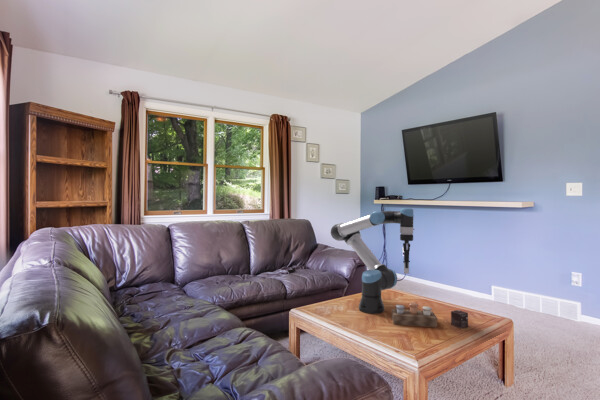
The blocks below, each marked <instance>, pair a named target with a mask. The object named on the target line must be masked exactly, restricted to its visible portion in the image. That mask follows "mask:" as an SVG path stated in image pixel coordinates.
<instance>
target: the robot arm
mask: <svg viewBox="0 0 600 400" xmlns="http://www.w3.org/2000/svg"><path fill="white" fill-rule="evenodd" d="M414 217H415V216H414V209H413V208H410V207H409V208H405V207H404V208H403V207H402V208H400V210H399V211H397V210H396V211H395V210H381V211H379V210H375V211H372V213H370V214H368V215H365V216H362V217H359V218H357V219H354V220H350V221H348V222H345V223H344V222H340V223H337V224H334V225H333V226H332V227H331V228H330V236H331V238H332V239H333V240H335V241H340V242H342V241H344V242H345V244H347V246H351V247H352V250H354V252H355V253H356V254H357V256H358V257H359V259H360V260H361V261H362V263H364V265H365V267H366V268H367V270H364V271H363V272H362V275H361V298H360V301H359V304H358V310H359V311H360V312H361V313H366V314H373V315H374V314H377V315H378V314H383V313H384V312H385V305H384V301H383V299H382V291H385V290H389V289H393V288H394V287H395V286H396V285H397V283H398V275H397V273H396V271H395V270H393V269H392V268H388V267H387V265H386V264H384V263H381V261H380V260H379V259H378V258H377V257H376V256H375V254H374V253H373V252H372V250H371V249H370V248H369V247H368V246H367V244H366V243H365V242H364V240H363V239H362V235H361V231H363V230H366V229H369V228H372V227H375V226H379V225H382V224H383V225H384V224H399V233H400V235H399V240H400V241H402V242H403V243H402V247H403V249H402V250H403V261H402V262H403V274H410V262H411V261H410V249H411V244H410V242H412V241H414V231H415V228H414Z"/></svg>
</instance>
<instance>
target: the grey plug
mask: <svg viewBox="0 0 600 400" xmlns="http://www.w3.org/2000/svg"><path fill="white" fill-rule="evenodd" d="M405 308H406V307H405V305H403V304H396V305H395V309H397V313H400V314H404V309H405Z"/></svg>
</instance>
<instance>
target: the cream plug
mask: <svg viewBox="0 0 600 400" xmlns="http://www.w3.org/2000/svg"><path fill="white" fill-rule="evenodd" d="M422 311H423V315H430V311H432V307H431V306H428V305H427V306H425V305H424V306H422Z"/></svg>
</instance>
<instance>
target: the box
mask: <svg viewBox="0 0 600 400" xmlns="http://www.w3.org/2000/svg"><path fill="white" fill-rule="evenodd" d="M450 325H451V326H454V327H456V328H459V329H464V328H467V327H469V312H466V311H463V310H460V309H459V310H458V309H456V310H451V311H450Z"/></svg>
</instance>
